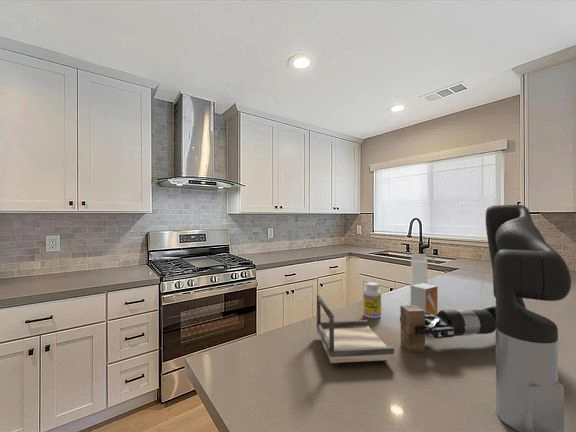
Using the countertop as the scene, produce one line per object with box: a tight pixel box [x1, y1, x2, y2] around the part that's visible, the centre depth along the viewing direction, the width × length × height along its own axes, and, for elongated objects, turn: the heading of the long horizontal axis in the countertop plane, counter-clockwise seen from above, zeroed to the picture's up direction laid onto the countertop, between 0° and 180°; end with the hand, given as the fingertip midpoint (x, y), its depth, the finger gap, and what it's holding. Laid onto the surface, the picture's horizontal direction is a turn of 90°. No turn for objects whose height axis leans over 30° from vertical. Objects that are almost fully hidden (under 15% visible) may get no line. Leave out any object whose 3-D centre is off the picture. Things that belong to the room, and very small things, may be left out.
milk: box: [410, 253, 428, 287], centre depth 129 cm, size 6×6×22 cm
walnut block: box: [399, 304, 426, 353], centre depth 85 cm, size 5×5×12 cm
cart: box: [316, 294, 395, 367], centre depth 84 cm, size 20×17×14 cm
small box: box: [410, 283, 439, 316], centre depth 107 cm, size 8×6×13 cm
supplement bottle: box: [363, 281, 382, 319], centre depth 112 cm, size 7×7×13 cm
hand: (407, 324), depth 85 cm, fingers open, 8 cm apart
